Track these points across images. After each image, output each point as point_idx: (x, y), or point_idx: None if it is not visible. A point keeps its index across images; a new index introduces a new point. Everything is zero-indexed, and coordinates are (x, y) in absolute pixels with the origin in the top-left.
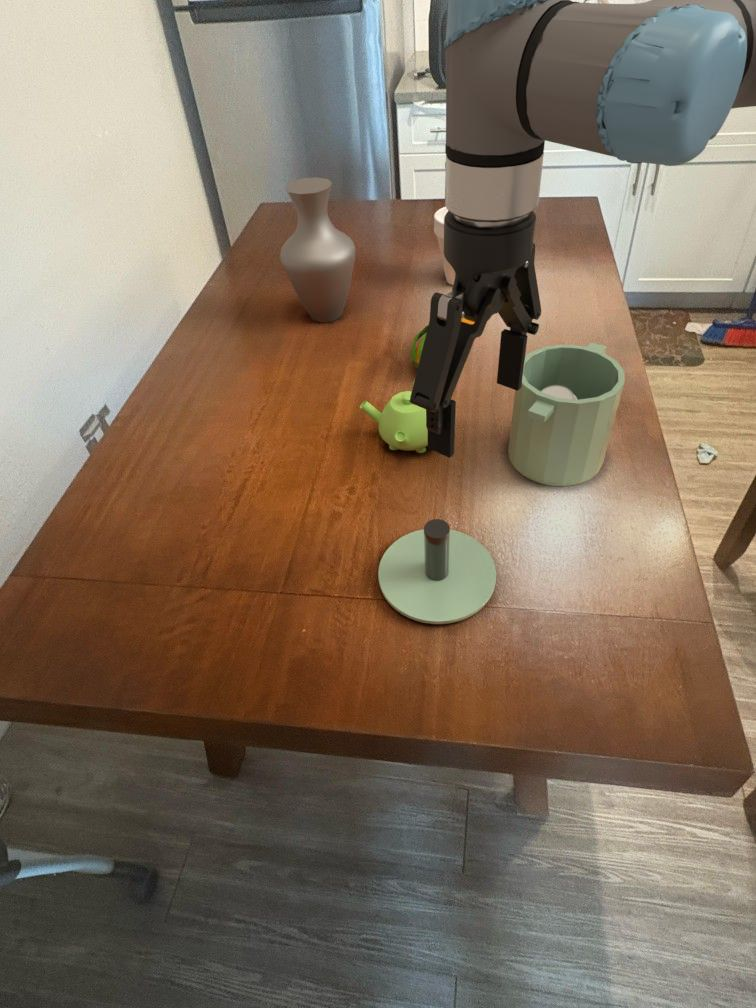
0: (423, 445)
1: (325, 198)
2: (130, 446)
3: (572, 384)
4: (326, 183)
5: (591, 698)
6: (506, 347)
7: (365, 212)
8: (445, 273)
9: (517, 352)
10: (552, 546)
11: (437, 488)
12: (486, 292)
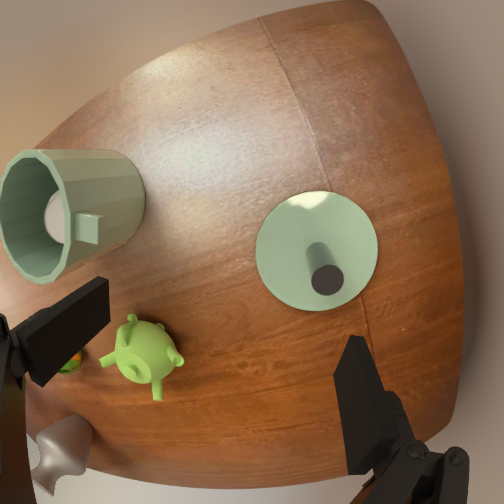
0: (161, 330)
1: (35, 474)
2: (271, 480)
3: (34, 214)
4: None
5: (380, 83)
6: (58, 355)
7: None
8: None
9: (54, 329)
10: (225, 153)
11: (200, 295)
12: None
